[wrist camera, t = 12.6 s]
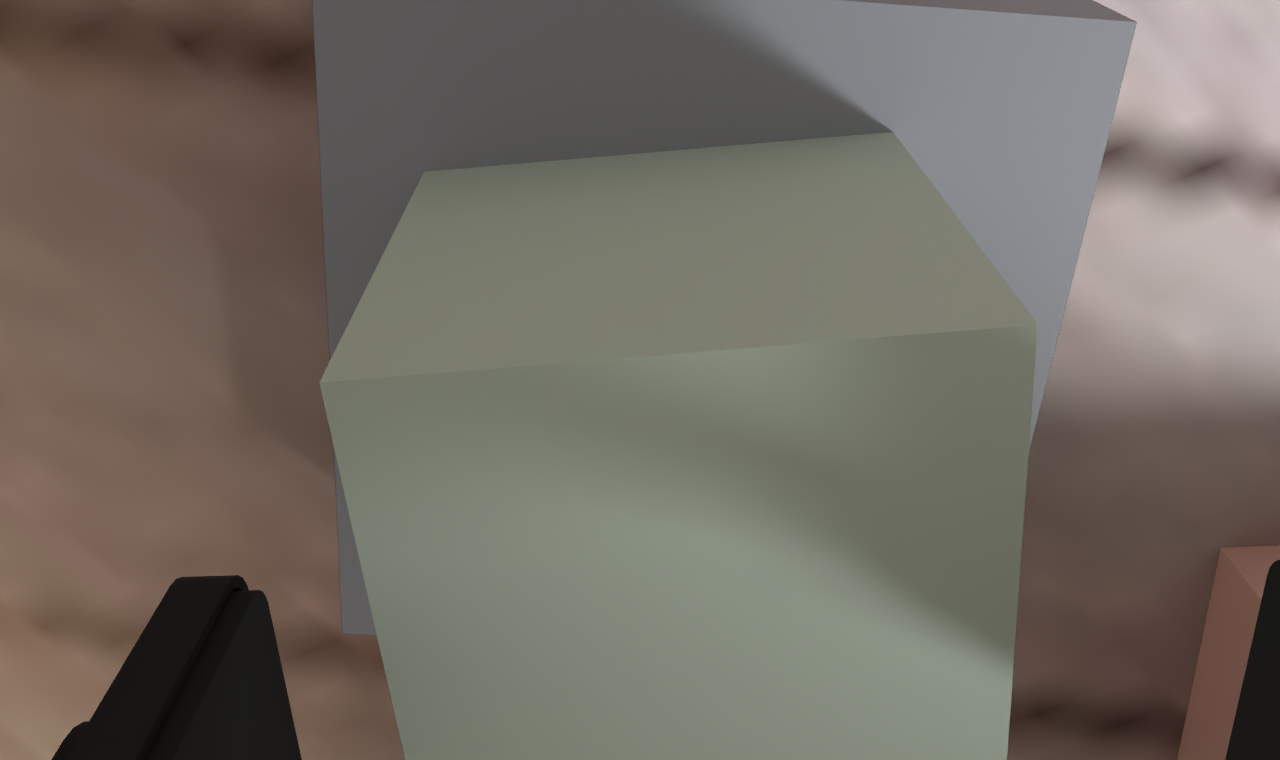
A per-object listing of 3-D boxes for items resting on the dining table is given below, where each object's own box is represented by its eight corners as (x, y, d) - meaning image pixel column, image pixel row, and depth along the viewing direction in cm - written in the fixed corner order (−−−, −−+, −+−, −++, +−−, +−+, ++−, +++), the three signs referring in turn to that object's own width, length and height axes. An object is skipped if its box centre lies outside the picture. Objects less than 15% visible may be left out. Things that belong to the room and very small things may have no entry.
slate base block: (1036, -27, 18) (1137, 22, 15) (920, 524, 23) (975, 665, 19) (373, -77, 18) (309, -39, 14) (387, 495, 22) (342, 633, 19)
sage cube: (892, 131, 15) (1036, 324, 10) (888, 526, 18) (1001, 845, 13) (423, 171, 16) (319, 382, 10) (489, 556, 18) (433, 884, 13)
